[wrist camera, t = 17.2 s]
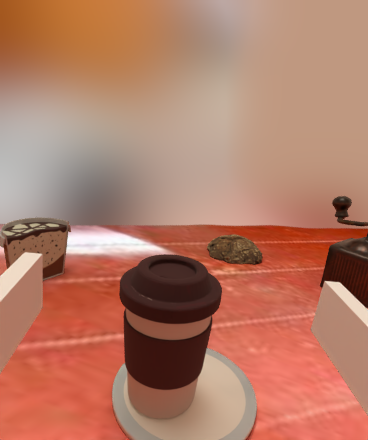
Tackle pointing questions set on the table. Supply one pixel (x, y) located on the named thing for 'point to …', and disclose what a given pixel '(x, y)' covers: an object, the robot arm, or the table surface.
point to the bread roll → (234, 250)
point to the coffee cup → (166, 331)
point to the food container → (37, 242)
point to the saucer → (195, 407)
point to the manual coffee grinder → (348, 258)
